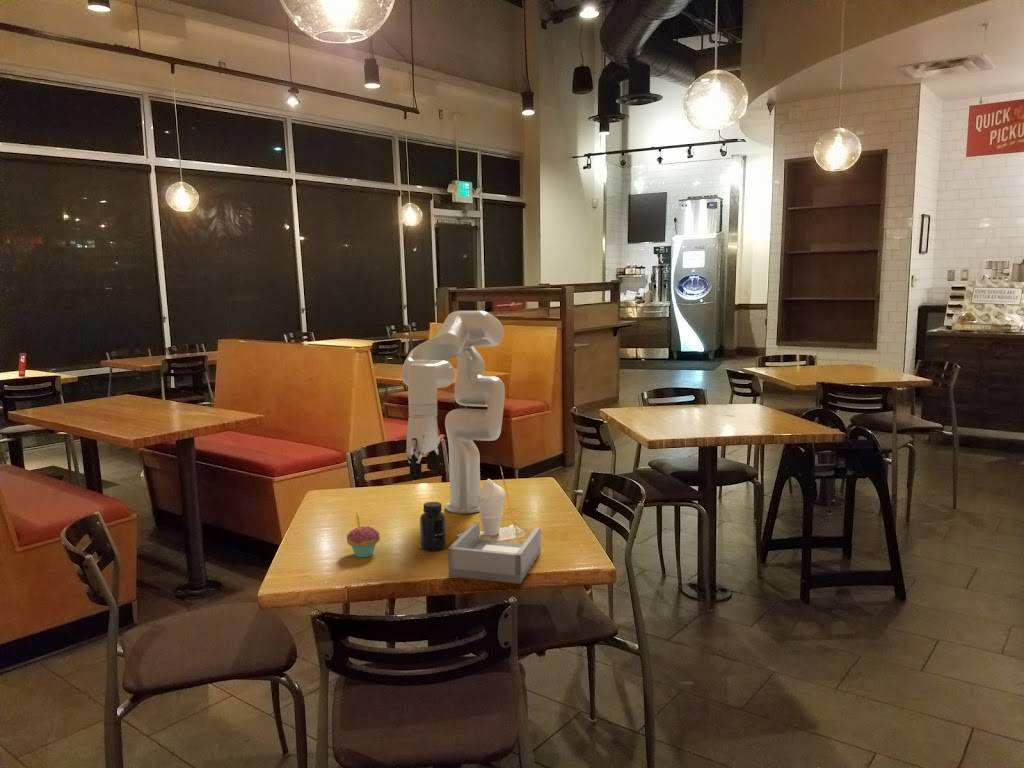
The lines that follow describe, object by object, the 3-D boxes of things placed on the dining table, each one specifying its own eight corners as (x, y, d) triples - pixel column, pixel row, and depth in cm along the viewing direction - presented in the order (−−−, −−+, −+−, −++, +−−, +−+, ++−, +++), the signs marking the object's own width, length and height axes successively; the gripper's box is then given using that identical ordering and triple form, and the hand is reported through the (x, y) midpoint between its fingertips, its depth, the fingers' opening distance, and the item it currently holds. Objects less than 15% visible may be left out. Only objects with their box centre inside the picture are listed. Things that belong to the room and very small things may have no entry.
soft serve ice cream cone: (492, 526, 210) (491, 472, 208) (512, 533, 204) (511, 478, 202) (470, 533, 204) (469, 478, 202) (490, 540, 198) (489, 484, 196)
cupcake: (364, 562, 184) (362, 517, 182) (340, 556, 189) (338, 511, 187) (387, 551, 191) (385, 508, 190) (363, 545, 196) (361, 503, 194)
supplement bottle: (441, 552, 190) (440, 508, 188) (417, 551, 191) (415, 507, 190) (449, 543, 197) (448, 500, 195) (425, 541, 198) (423, 499, 196)
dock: (475, 546, 194) (475, 521, 193) (540, 553, 189) (540, 527, 188) (448, 576, 175) (448, 548, 174) (520, 583, 170) (520, 555, 169)
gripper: (425, 404, 199) (426, 465, 201) (394, 414, 183) (395, 480, 185) (450, 406, 197) (451, 467, 199) (420, 415, 180) (422, 482, 183)
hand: (424, 473), depth 192 cm, fingers open, 9 cm apart
